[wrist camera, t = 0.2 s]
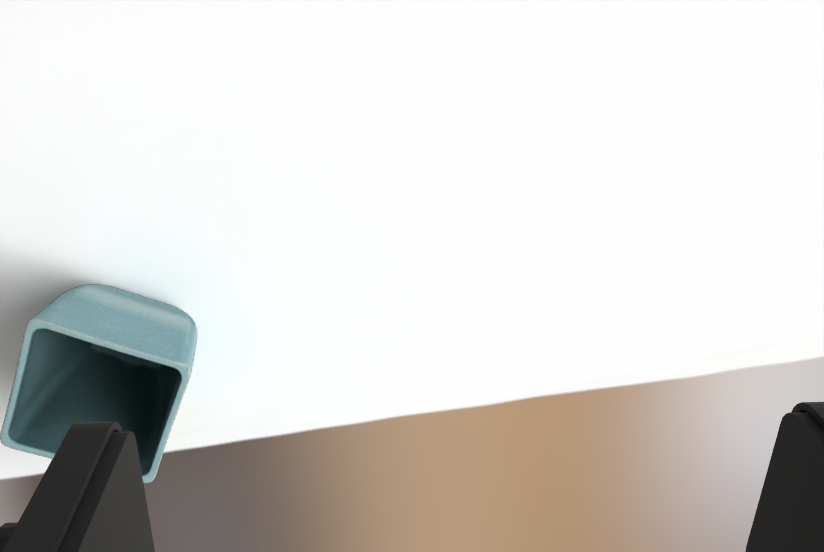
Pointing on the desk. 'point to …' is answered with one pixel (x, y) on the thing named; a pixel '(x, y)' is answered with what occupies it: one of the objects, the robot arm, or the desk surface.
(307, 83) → the desk surface
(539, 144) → the desk surface
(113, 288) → the flower pot
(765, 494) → the robot arm
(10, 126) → the desk surface
